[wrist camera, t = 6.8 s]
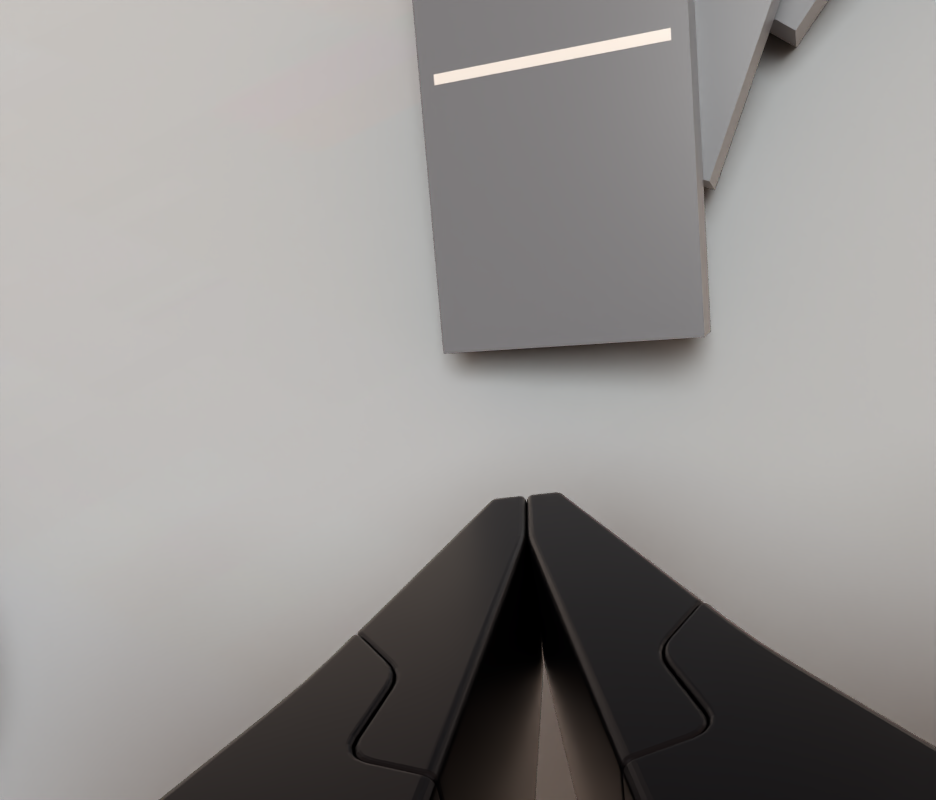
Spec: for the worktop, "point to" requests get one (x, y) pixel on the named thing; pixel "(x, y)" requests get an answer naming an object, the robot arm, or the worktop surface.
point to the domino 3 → (795, 19)
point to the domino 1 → (564, 171)
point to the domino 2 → (727, 70)
